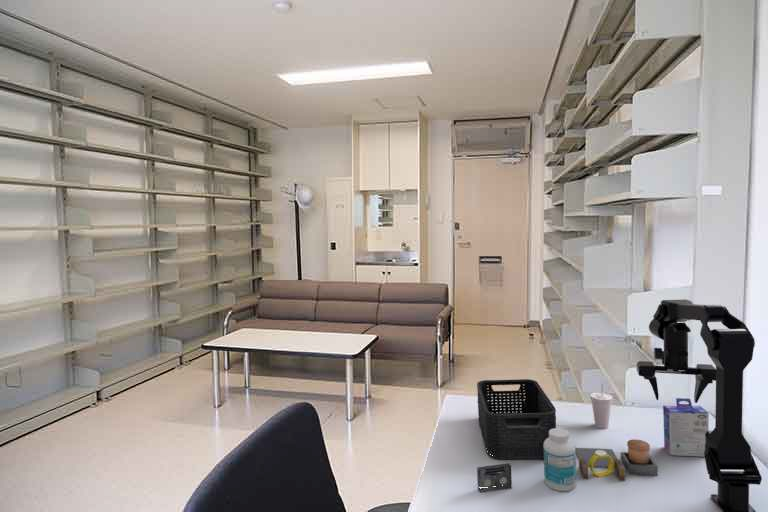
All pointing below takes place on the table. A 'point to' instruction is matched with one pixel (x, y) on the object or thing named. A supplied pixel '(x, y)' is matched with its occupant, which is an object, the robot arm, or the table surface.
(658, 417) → the table surface
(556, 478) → the pill bottle
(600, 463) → the slate mat
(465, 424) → the table surface
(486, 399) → the storage bin
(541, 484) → the table surface
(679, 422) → the ink cartridge box
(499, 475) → the mini dv tape
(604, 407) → the smoothie
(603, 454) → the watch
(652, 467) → the grey square tray
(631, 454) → the tan domed cylinder
